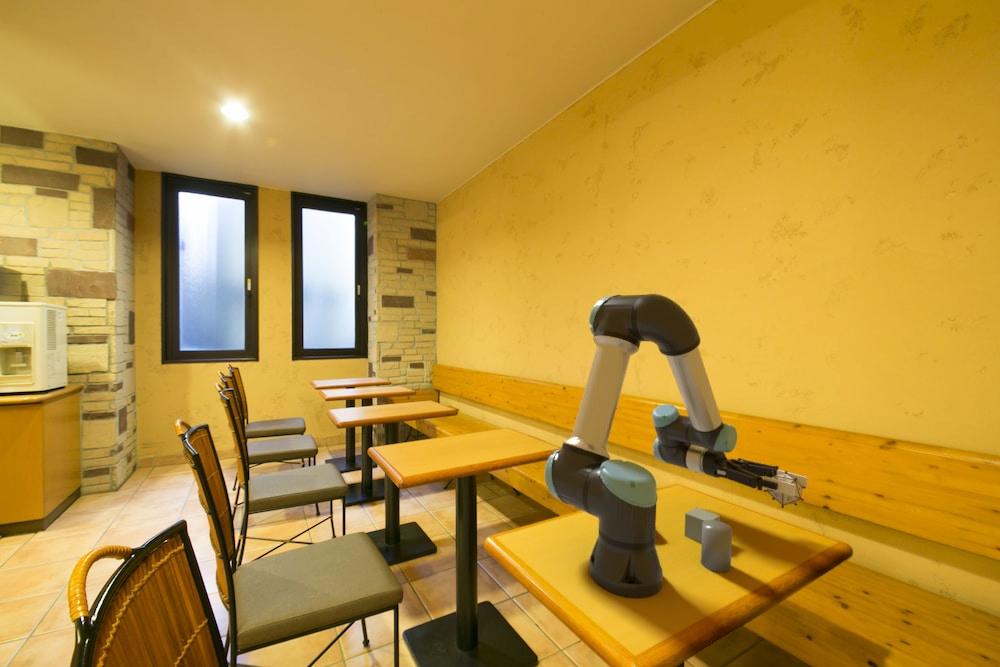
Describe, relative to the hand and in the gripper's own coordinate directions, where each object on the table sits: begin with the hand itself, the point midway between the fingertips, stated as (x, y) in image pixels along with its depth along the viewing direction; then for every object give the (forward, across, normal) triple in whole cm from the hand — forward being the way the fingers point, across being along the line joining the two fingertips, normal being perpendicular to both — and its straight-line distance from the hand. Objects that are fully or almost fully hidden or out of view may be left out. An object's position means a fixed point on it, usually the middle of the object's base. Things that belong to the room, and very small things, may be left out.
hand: (800, 486), depth 103 cm
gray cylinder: (-9, +24, -16) cm, 30 cm away
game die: (-4, -1, -6) cm, 7 cm away
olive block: (-17, +14, -16) cm, 27 cm away
